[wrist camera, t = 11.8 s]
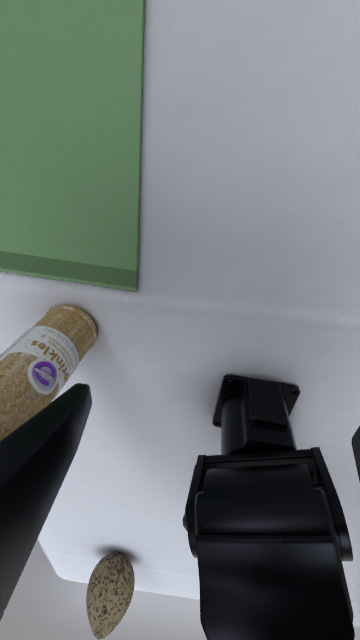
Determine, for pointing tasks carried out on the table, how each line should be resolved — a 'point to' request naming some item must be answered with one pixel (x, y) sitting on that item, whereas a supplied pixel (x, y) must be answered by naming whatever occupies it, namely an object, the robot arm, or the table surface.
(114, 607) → the decorative egg
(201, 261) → the table surface
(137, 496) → the table surface
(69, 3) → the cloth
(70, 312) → the sprinkles bottle
